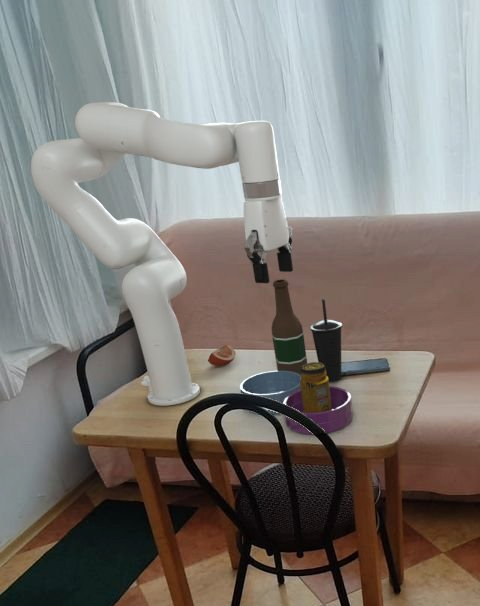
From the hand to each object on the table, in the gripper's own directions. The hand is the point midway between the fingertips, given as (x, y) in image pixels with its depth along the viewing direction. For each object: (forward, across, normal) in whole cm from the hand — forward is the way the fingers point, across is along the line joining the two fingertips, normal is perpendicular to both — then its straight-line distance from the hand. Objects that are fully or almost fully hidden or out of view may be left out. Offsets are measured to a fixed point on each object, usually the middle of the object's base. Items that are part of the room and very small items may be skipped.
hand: (274, 276), depth 134 cm
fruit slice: (+28, -15, -30) cm, 44 cm away
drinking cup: (+28, -13, +4) cm, 32 cm away
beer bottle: (+28, -13, -7) cm, 32 cm away
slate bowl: (+28, +3, -3) cm, 29 cm away
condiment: (+28, +10, +12) cm, 32 cm away
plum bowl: (+28, +9, +12) cm, 32 cm away
